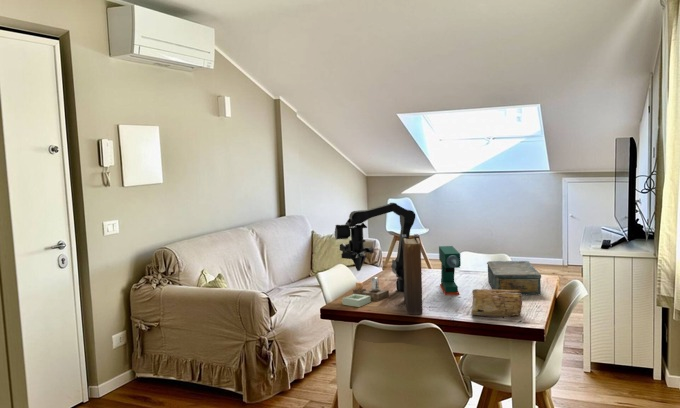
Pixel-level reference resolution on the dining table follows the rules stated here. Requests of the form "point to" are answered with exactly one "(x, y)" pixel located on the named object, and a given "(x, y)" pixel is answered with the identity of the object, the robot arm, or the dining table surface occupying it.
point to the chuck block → (376, 294)
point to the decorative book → (412, 274)
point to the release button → (359, 286)
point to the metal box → (514, 276)
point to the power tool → (449, 269)
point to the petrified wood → (496, 302)
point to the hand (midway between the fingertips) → (358, 270)
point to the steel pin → (375, 284)
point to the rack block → (356, 300)
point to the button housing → (358, 291)
